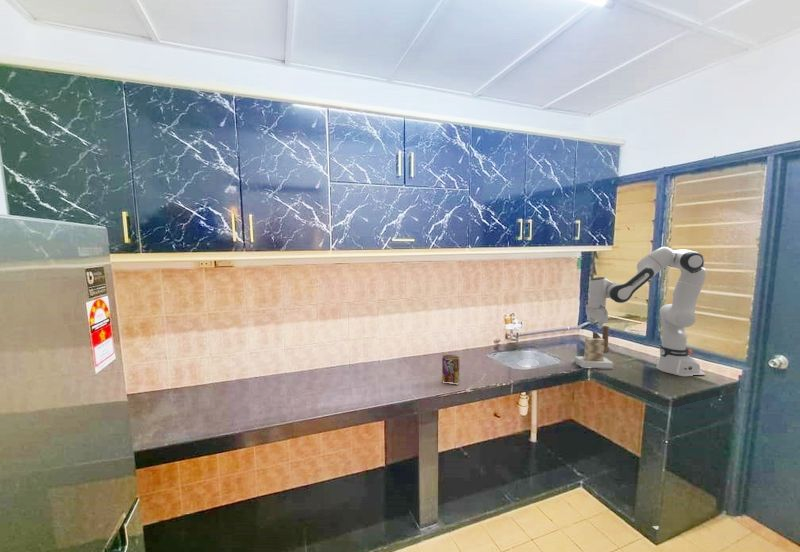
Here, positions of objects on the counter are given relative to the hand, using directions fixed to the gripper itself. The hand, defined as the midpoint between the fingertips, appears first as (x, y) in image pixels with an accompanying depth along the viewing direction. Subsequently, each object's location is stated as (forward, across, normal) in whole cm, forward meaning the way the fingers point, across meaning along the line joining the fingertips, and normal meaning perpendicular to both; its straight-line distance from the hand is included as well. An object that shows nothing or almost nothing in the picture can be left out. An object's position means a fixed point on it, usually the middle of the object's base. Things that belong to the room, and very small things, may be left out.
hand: (595, 326), depth 203 cm
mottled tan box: (+24, 0, 0) cm, 24 cm away
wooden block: (+25, +27, -17) cm, 41 cm away
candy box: (+24, -33, +89) cm, 98 cm away
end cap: (+25, 0, 0) cm, 25 cm away
